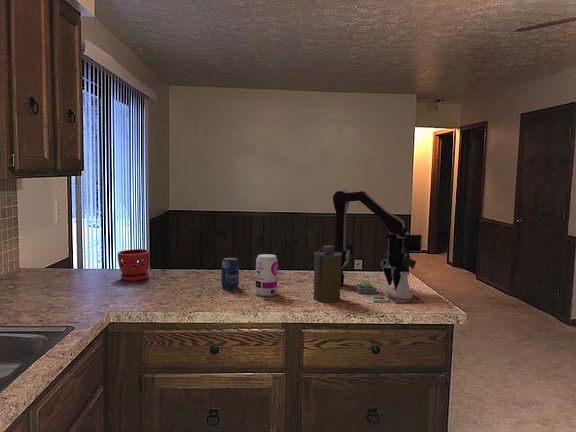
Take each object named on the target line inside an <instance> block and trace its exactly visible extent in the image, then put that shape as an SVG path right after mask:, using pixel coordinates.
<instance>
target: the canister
mask: <svg viewBox="0 0 576 432" xmlns="http://www.w3.org/2000/svg"><path fill="white" fill-rule="evenodd" d="M334 248H335V245H330V244H329V245H323V246H322V248H321V250H319V251H315V252H314V253H313V255H314V264H313V265H314V267H313V270H314V271H313V272H314V273H313V296H312V299H313V300H314V301H316V302H319V303H325V304H326V303H327V304H328V303H330V304H331V303H332V304H333V303H337V302H340V301H341V257H342V253H340V252H334Z"/></svg>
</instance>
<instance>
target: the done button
mask: <svg viewBox="0 0 576 432" xmlns="http://www.w3.org/2000/svg"><path fill="white" fill-rule="evenodd" d="M370 284H371V282H369V281H360V287H361V288H370Z"/></svg>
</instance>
